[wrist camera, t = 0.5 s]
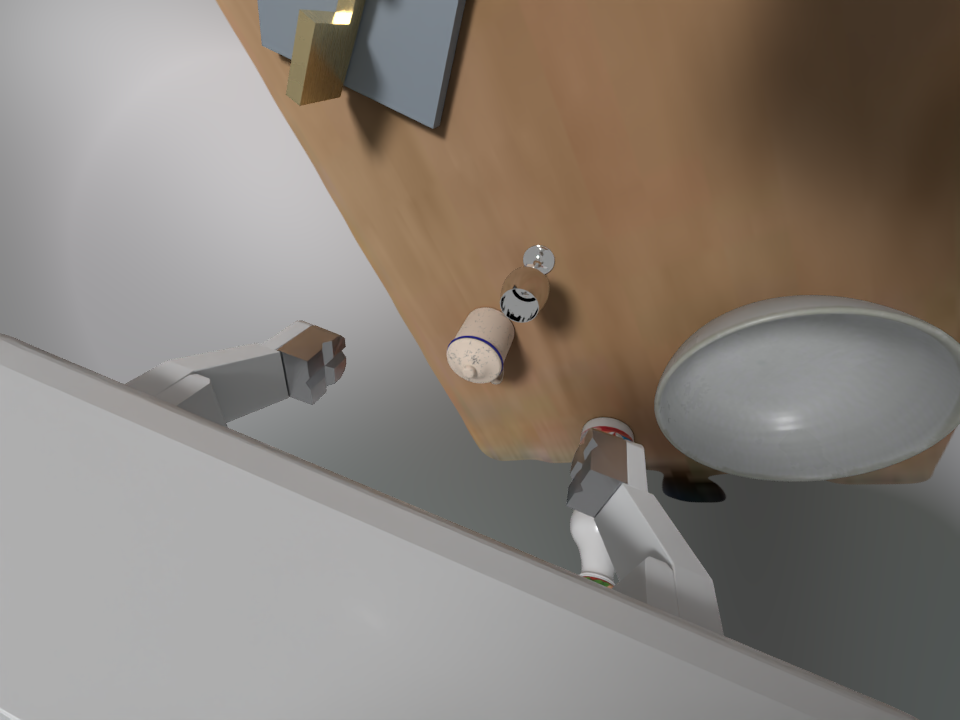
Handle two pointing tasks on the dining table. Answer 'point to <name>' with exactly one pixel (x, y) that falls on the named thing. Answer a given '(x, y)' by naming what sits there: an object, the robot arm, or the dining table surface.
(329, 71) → the key
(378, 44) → the lock plate
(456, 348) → the teacup with lid
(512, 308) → the wineglass
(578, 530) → the fruit juice
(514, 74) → the dining table surface
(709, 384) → the decorative bowl
